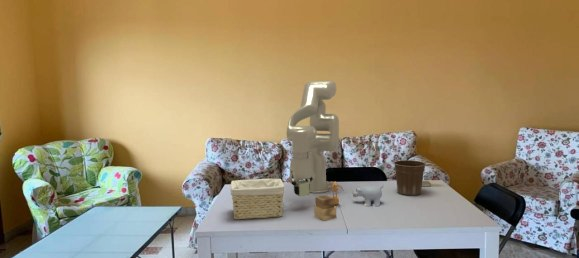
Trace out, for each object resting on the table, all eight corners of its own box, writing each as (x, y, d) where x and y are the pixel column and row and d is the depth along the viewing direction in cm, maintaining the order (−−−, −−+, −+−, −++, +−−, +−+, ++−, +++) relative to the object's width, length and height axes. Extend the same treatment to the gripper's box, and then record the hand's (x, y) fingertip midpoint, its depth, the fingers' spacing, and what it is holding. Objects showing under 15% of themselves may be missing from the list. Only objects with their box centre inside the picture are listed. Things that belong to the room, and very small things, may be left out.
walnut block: (327, 203, 176) (326, 194, 176) (334, 207, 171) (334, 198, 170) (315, 205, 174) (315, 197, 173) (322, 209, 168) (322, 200, 168)
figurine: (342, 203, 192) (342, 179, 190) (344, 206, 186) (344, 182, 184) (326, 203, 192) (325, 179, 190) (327, 207, 186) (326, 182, 184)
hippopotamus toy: (352, 199, 198) (352, 181, 197) (382, 199, 195) (383, 181, 194) (352, 206, 187) (352, 186, 186) (384, 206, 185) (384, 187, 184)
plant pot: (412, 187, 216) (413, 158, 215) (432, 195, 201) (432, 164, 199) (387, 190, 211) (387, 161, 209) (405, 198, 196) (405, 167, 194)
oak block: (327, 213, 178) (327, 202, 177) (336, 217, 172) (336, 206, 171) (314, 216, 174) (314, 205, 174) (323, 221, 168) (323, 209, 168)
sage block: (304, 191, 187) (303, 179, 186) (309, 194, 183) (309, 182, 182) (294, 193, 185) (294, 181, 184) (300, 196, 180) (299, 184, 179)
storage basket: (281, 206, 189) (281, 177, 187) (285, 218, 173) (285, 185, 171) (232, 210, 186) (230, 180, 184) (231, 222, 170) (230, 189, 168)
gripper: (312, 151, 188) (313, 187, 191) (280, 156, 180) (282, 194, 183) (320, 154, 181) (321, 191, 184) (288, 159, 173) (290, 198, 176)
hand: (302, 192), depth 184 cm, fingers closed on sage block, 5 cm apart
